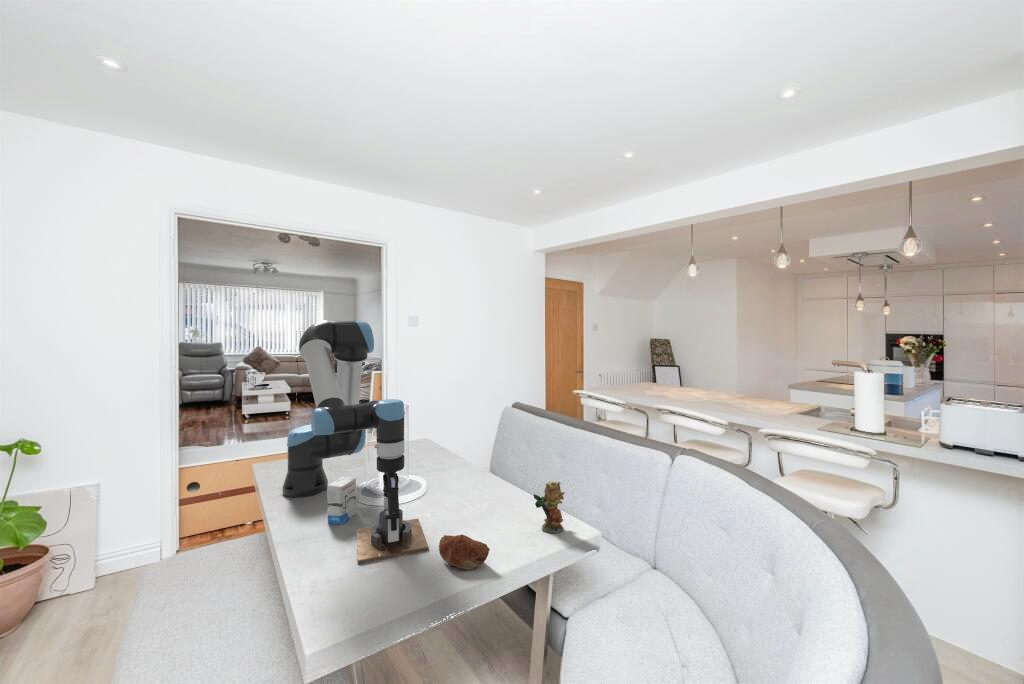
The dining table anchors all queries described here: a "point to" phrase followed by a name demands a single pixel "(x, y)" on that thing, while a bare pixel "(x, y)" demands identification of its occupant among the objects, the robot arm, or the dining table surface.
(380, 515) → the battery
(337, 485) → the ink box
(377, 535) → the brown cardboard plate
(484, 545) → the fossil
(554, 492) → the figurine
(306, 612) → the dining table surface
